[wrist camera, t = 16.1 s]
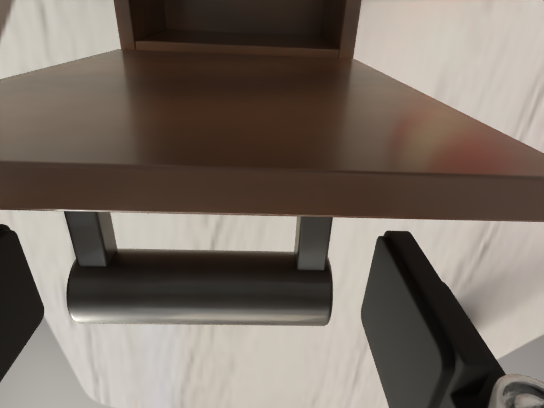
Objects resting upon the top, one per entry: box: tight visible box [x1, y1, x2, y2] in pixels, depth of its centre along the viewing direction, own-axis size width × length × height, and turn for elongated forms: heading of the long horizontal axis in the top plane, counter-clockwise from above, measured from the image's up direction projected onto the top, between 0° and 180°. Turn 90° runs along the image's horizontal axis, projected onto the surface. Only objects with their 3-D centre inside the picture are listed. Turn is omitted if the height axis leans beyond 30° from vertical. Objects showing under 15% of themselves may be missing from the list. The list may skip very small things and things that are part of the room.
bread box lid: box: [0, 49, 544, 326], centre depth 13 cm, size 16×13×5 cm
